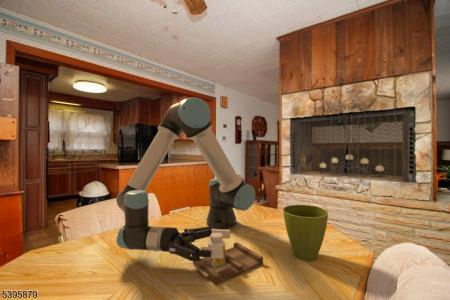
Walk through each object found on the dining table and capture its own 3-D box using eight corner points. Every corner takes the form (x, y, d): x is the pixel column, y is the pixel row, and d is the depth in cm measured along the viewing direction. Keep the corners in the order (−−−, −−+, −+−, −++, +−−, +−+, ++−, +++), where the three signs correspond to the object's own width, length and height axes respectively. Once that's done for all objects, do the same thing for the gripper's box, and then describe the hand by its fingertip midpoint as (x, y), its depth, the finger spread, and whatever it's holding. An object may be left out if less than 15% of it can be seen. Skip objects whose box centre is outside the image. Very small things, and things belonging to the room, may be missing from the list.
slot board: (190, 264, 71) (190, 257, 71) (236, 248, 82) (236, 242, 82) (212, 286, 60) (212, 278, 59) (263, 263, 71) (263, 256, 71)
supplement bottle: (227, 262, 70) (227, 232, 70) (222, 271, 65) (221, 239, 65) (212, 259, 72) (211, 230, 72) (205, 268, 67) (205, 237, 67)
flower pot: (325, 272, 66) (325, 220, 65) (277, 259, 73) (277, 212, 73) (331, 251, 78) (330, 208, 78) (289, 242, 86) (289, 203, 86)
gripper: (178, 235, 84) (232, 238, 80) (143, 271, 59) (219, 278, 56) (178, 216, 84) (232, 218, 80) (143, 244, 59) (219, 249, 56)
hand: (227, 242), depth 68 cm, fingers open, 13 cm apart
